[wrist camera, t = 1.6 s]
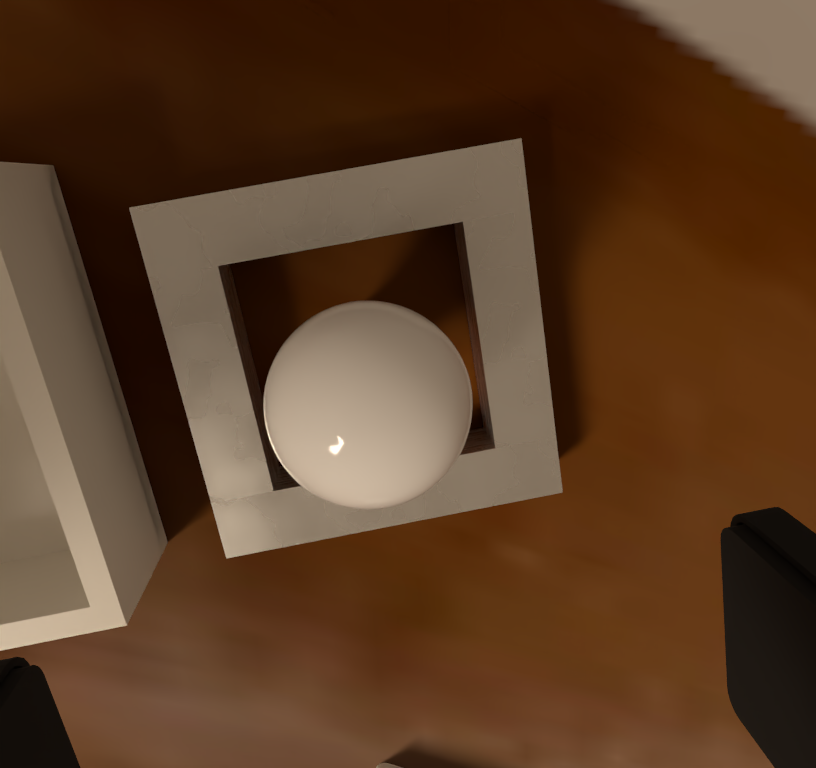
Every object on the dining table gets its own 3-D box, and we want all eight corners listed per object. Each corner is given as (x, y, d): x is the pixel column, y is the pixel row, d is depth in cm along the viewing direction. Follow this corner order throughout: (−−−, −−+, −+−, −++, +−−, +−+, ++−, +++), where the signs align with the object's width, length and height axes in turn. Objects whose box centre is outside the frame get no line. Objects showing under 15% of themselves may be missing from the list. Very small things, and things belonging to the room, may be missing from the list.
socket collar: (545, 468, 31) (562, 492, 29) (235, 529, 31) (226, 558, 28) (505, 142, 27) (521, 138, 25) (148, 205, 27) (128, 207, 24)
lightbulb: (305, 251, 28) (281, 293, 17) (457, 293, 29) (522, 357, 18) (269, 399, 29) (226, 522, 19) (414, 434, 30) (452, 569, 20)
